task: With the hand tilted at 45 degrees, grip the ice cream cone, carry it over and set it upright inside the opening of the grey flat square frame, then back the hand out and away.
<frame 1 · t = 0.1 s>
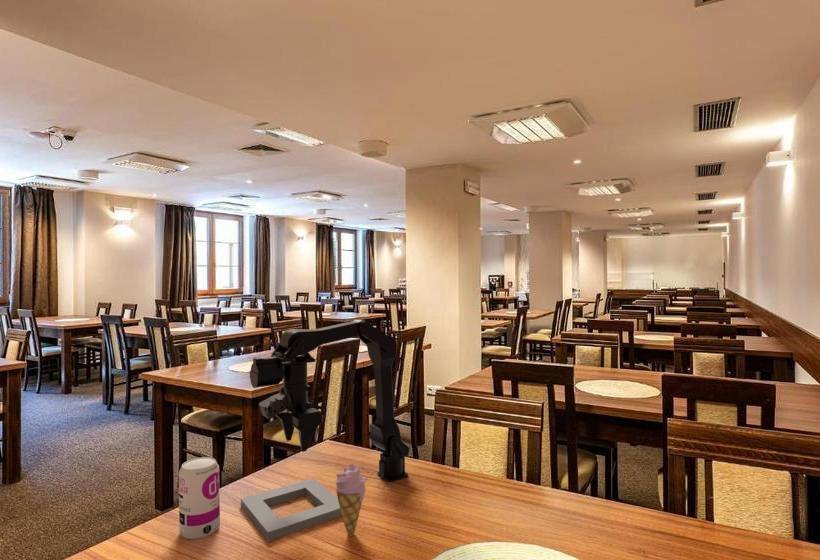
hand: (296, 445, 117), 15 cm above the table, tool pointing down, fingers open, 9 cm apart
grey flat square frame: (293, 510, 115), on the table
ice cream cone: (352, 535, 104), on the table
supplement can: (200, 531, 106), on the table
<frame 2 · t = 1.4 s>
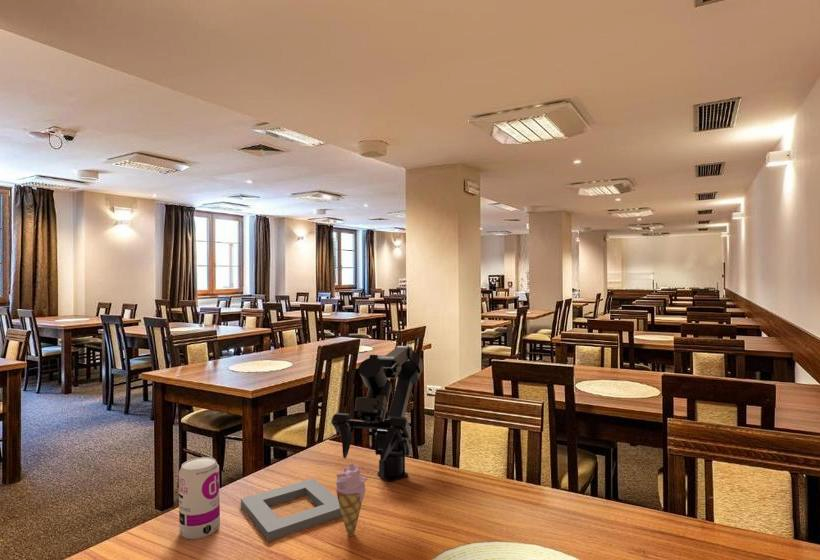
hand: (362, 459, 111), 13 cm above the table, tool tilted 45°, fingers open, 9 cm apart
nothing on the table moved.
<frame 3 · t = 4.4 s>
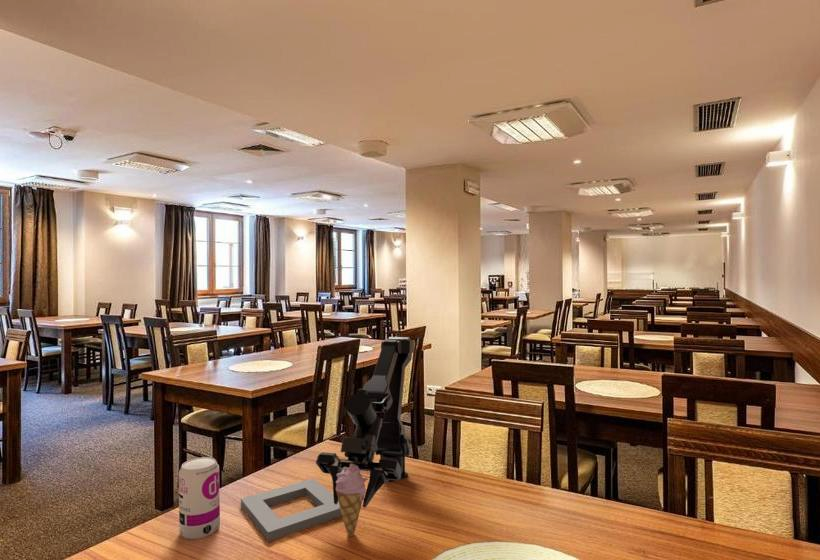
hand: (349, 505, 102), 7 cm above the table, tool tilted 45°, fingers closed on ice cream cone, 6 cm apart
ice cream cone: (352, 535, 104), on the table, touching gripper
everything else where it was.
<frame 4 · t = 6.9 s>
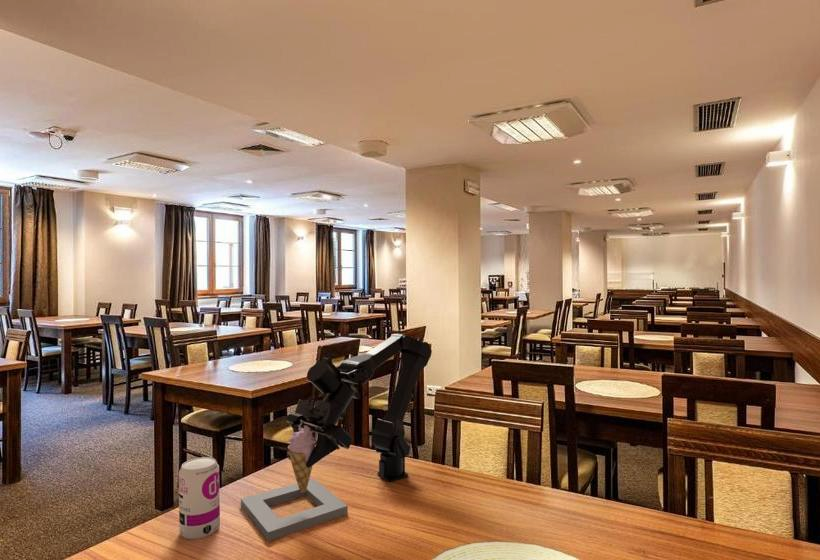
hand: (298, 463, 110), 13 cm above the table, tool tilted 45°, fingers closed on ice cream cone, 6 cm apart
ice cream cone: (303, 492, 111), point 6 cm above the table, touching gripper
everything else where it was.
when the fingers open (8 cm above the table, at t = 9.4 s): ice cream cone drops 1 cm, resting in grey flat square frame.
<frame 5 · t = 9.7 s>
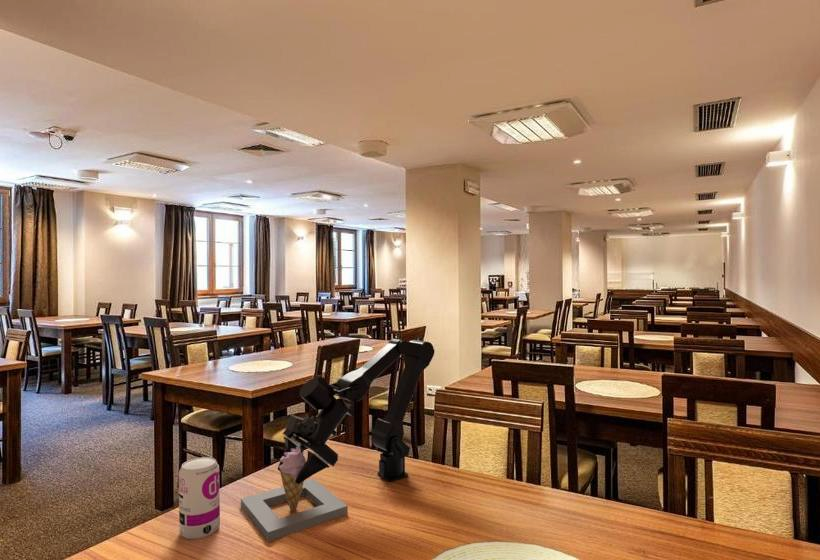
hand: (287, 476, 114), 9 cm above the table, tool tilted 45°, fingers open, 9 cm apart
ice cream cone: (293, 511, 115), resting in grey flat square frame
everything else where it was.
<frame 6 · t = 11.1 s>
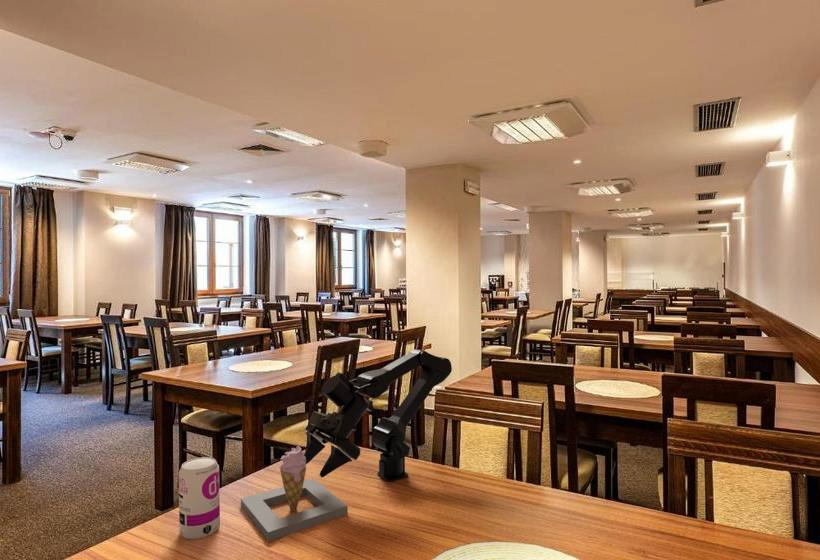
hand: (311, 470, 118), 8 cm above the table, tool tilted 45°, fingers open, 9 cm apart
nothing on the table moved.
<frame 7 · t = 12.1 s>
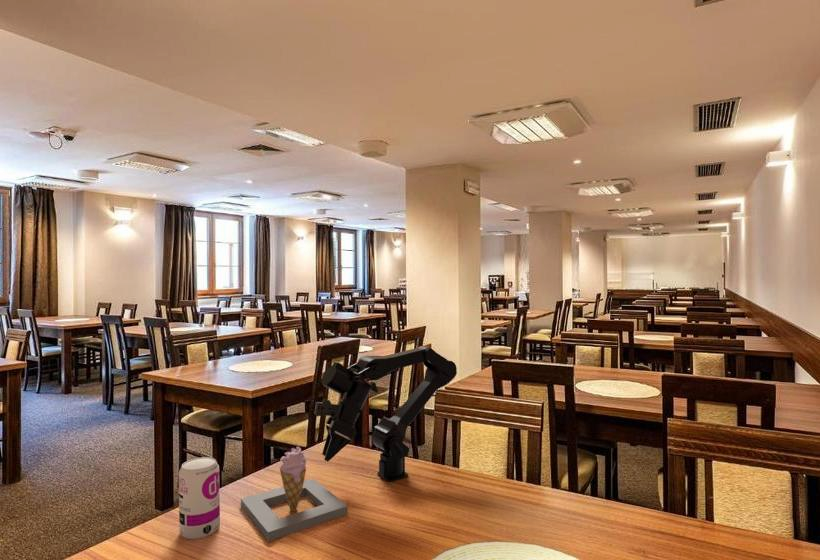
hand: (324, 457, 123), 10 cm above the table, tool tilted 30°, fingers open, 9 cm apart
nothing on the table moved.
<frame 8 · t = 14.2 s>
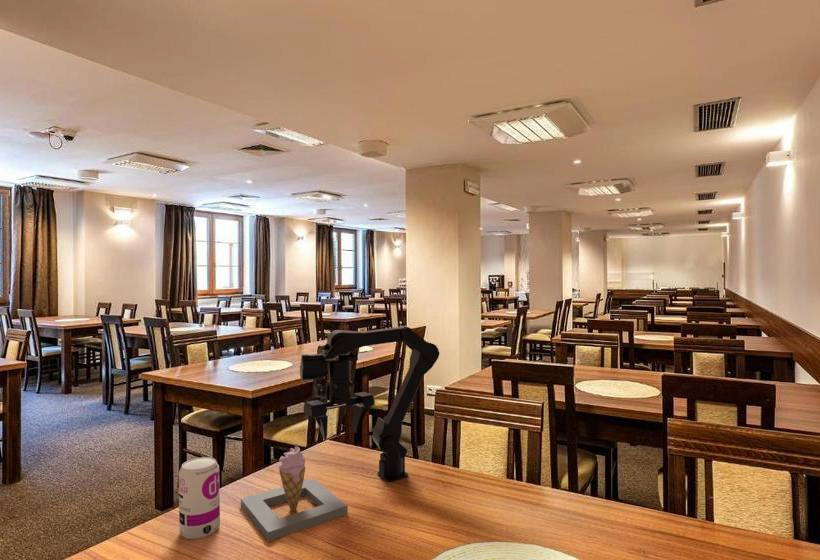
hand: (340, 435, 129), 13 cm above the table, tool pointing down, fingers open, 9 cm apart
nothing on the table moved.
at the end: ice cream cone inside the target area on the grey flat square frame (0.1 cm from its centre), point 0.0 cm above the grey flat square frame's base; ice cream cone tilted 1°; the gripper is holding nothing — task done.
